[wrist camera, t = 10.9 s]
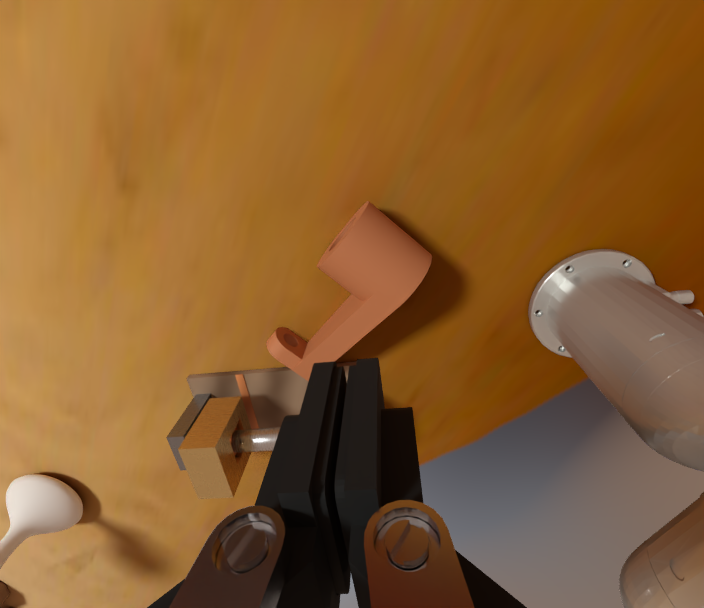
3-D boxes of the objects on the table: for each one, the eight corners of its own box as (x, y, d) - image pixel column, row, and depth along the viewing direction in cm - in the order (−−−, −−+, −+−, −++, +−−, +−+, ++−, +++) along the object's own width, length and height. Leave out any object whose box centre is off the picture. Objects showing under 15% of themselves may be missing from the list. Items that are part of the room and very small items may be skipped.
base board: (358, 361, 48) (357, 365, 47) (367, 425, 52) (367, 429, 51) (189, 375, 50) (186, 379, 49) (211, 434, 54) (208, 439, 53)
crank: (369, 195, 40) (367, 210, 32) (426, 244, 41) (436, 268, 34) (262, 326, 47) (241, 362, 39) (315, 363, 48) (303, 404, 41)
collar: (241, 396, 47) (214, 447, 39) (255, 441, 50) (233, 497, 42) (209, 398, 47) (177, 449, 40) (225, 443, 50) (198, 498, 43)
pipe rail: (356, 378, 49) (352, 426, 41) (361, 410, 51) (358, 461, 43) (198, 390, 51) (166, 437, 43) (209, 420, 53) (180, 470, 45)
